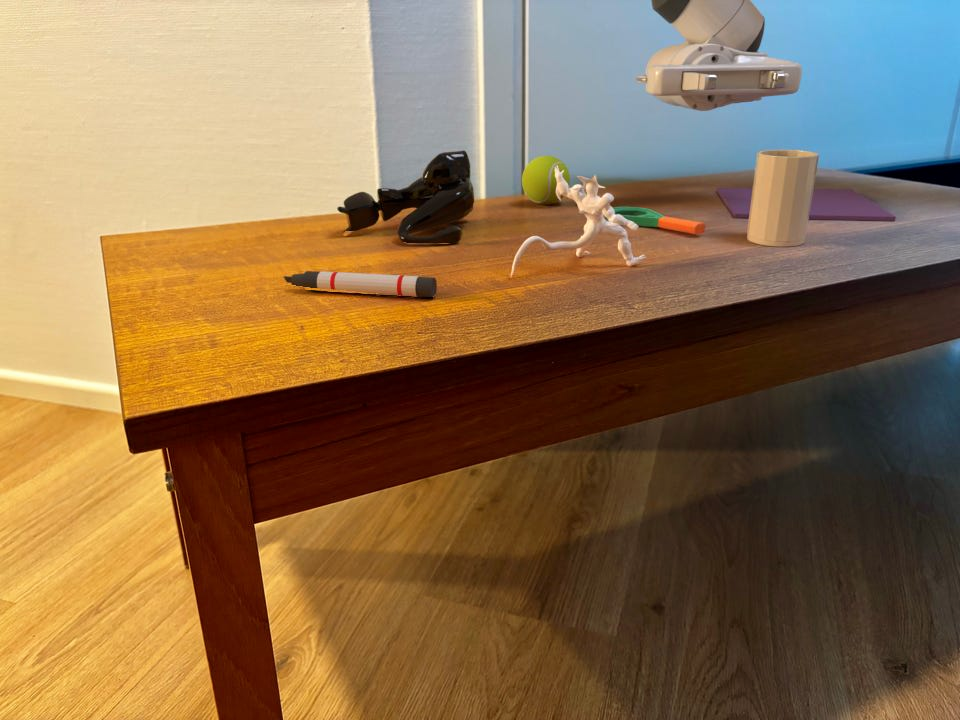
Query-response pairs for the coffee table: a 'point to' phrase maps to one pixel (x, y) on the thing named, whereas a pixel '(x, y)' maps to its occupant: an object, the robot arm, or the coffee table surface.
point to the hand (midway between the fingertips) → (746, 81)
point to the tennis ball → (543, 179)
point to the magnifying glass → (658, 220)
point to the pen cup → (781, 197)
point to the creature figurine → (589, 221)
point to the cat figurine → (420, 201)
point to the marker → (367, 283)
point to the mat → (815, 205)
